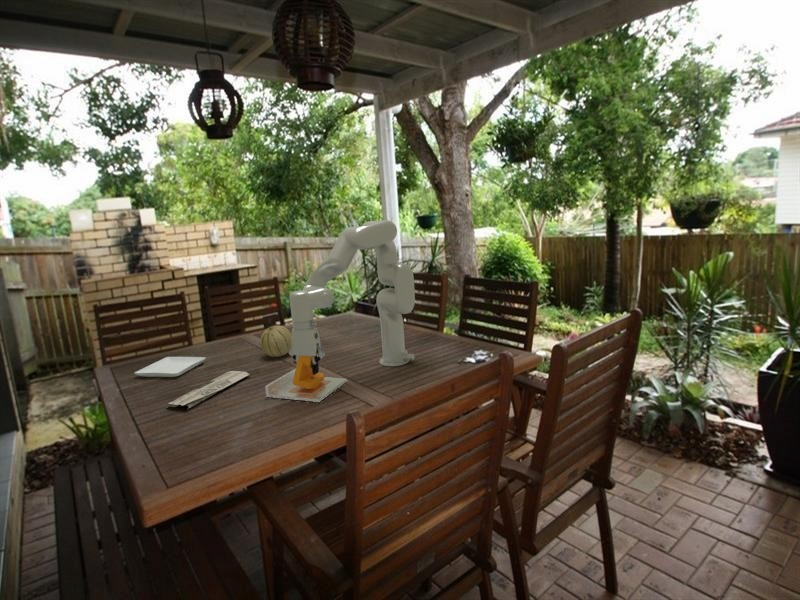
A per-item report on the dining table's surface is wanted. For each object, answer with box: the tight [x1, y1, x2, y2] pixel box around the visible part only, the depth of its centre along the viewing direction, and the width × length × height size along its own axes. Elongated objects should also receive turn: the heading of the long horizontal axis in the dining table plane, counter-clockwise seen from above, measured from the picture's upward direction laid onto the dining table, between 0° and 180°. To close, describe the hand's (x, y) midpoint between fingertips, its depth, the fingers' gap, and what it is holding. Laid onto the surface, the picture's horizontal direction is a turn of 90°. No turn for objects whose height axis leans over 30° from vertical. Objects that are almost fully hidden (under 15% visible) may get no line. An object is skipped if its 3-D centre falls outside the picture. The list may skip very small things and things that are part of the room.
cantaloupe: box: [259, 325, 292, 358], centre depth 212 cm, size 15×15×15 cm
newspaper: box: [164, 370, 251, 411], centre depth 174 cm, size 35×12×4 cm, turn 163°
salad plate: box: [134, 356, 207, 378], centre depth 203 cm, size 21×21×3 cm
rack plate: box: [264, 367, 348, 402], centre depth 168 cm, size 22×20×4 cm
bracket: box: [293, 356, 325, 389], centre depth 167 cm, size 11×7×12 cm, turn 160°
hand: (308, 372), depth 167 cm, fingers open, 5 cm apart
